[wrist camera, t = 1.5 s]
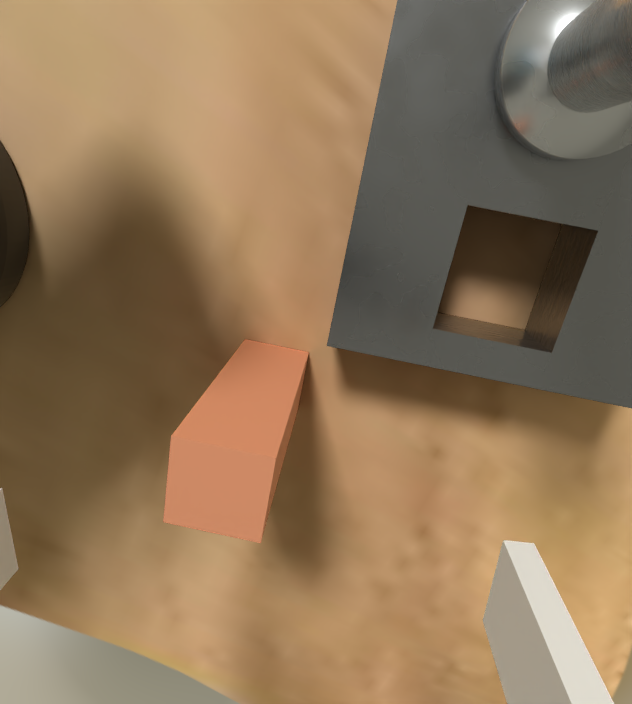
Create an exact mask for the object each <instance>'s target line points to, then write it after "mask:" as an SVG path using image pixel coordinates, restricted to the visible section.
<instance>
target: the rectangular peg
mask: <svg viewBox="0 0 632 704" xmlns="http://www.w3.org/2000/svg"><path fill="white" fill-rule="evenodd" d="M308 354H309V352H306V351H301V350H296V349H291V348H286V347H281V346H276V345H271V344H267V343H262V342H257V341H252V340H247V339H245V340H244V341H243V342H242V344H241V345H240V346H239V348H238V349H237V350H236V352H235V353H234V354H233V356H232V357H231V358H230V359H229V361H228V362H227V363H226V365H225V366H224V367H223V369H222V370H221V371H220V373H219V374H218V375H217V376H216V378H215V379H214V380H213V382H212V383H211V384H210V386H209V387H208V388H207V390H206V391H205V392H204V394H203V395H202V396H201V397H200V399H199V400H198V401H197V403H196V404H195V405H194V407H193V408H192V409H191V411H190V412H189V413H188V415H187V416H186V417H185V418H184V420H183V421H182V422H181V424H180V425H179V426H178V428H177V429H176V430H175V432H174V433H173V434H172V435H171V442H170V453H169V464H168V475H167V486H166V498H165V509H164V520H163V522H165V523H169V524H174V525H179V526H183V527H188V528H193V529H197V530H202V531H207V532H211V533H216V534H221V535H225V536H230V537H235V538H239V539H244V540H249V541H253V542H258V543H261V540H262V537H263V533H264V530H265V526H266V522H267V519H268V515H269V512H270V508H271V504H272V501H273V497H274V494H275V490H276V487H277V483H278V479H279V476H280V472H281V469H282V465H283V461H284V458H285V454H286V451H287V447H288V443H289V440H290V436H291V433H292V429H293V426H294V422H295V418H296V415H297V411H298V407H299V401H300V396H301V391H302V386H303V381H304V375H305V370H306V365H307V360H308Z"/></svg>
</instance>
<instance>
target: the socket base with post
mask: <svg viewBox="0 0 632 704" xmlns="http://www.w3.org/2000/svg"><path fill="white" fill-rule="evenodd" d="M467 206H472V207H477V208H482V209H487V210H492V211H497V212H502V213H507V214H512V215H517V216H522V217H527V218H532V219H538V220H543V221H548V222H553V223H558V224H562V227H561V230H560V233H559V236H558V238H557V241H556V244H555V247H554V250H553V253H552V255H551V258H550V261H549V264H548V267H547V269H546V272H545V275H544V278H543V281H542V284H541V286H540V289H539V292H538V295H537V298H536V301H535V303H534V306H533V309H532V312H531V315H530V318H529V320H528V323H527V326H526V329H525V330H522V329H517V328H512V327H507V326H502V325H497V324H492V323H487V322H482V321H478V320H473V319H468V318H463V317H458V316H453V315H448V314H443V313H438V308H439V305H440V301H441V298H442V294H443V290H444V287H445V283H446V280H447V276H448V273H449V269H450V266H451V262H452V259H453V255H454V252H455V248H456V245H457V241H458V237H459V234H460V230H461V227H462V223H463V220H464V216H465V213H466V209H467ZM327 346H330V347H335V348H340V349H345V350H350V351H355V352H360V353H365V354H369V355H374V356H379V357H384V358H389V359H394V360H399V361H404V362H408V363H413V364H418V365H423V366H428V367H433V368H438V369H443V370H447V371H452V372H457V373H462V374H467V375H472V376H477V377H482V378H487V379H491V380H496V381H501V382H506V383H511V384H516V385H521V386H526V387H530V388H535V389H540V390H545V391H550V392H555V393H560V394H565V395H569V396H574V397H579V398H584V399H589V400H594V401H599V402H604V403H608V404H613V405H618V406H623V407H628V408H632V0H398V1H397V6H396V11H395V15H394V20H393V25H392V30H391V35H390V40H389V45H388V50H387V54H386V59H385V64H384V69H383V74H382V79H381V84H380V89H379V94H378V98H377V103H376V108H375V113H374V118H373V123H372V128H371V133H370V137H369V142H368V147H367V152H366V157H365V162H364V167H363V172H362V177H361V181H360V186H359V191H358V196H357V201H356V206H355V211H354V216H353V221H352V225H351V230H350V235H349V240H348V245H347V250H346V255H345V260H344V264H343V269H342V274H341V279H340V284H339V289H338V294H337V299H336V304H335V308H334V313H333V318H332V323H331V328H330V333H329V338H328V343H327Z"/></svg>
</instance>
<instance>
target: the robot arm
mask: <svg viewBox="0 0 632 704" xmlns="http://www.w3.org/2000/svg"><path fill="white" fill-rule="evenodd" d="M28 245H29V222H28V213H27V207H26V202H25V198H24V194H23V190H22V187H21V184H20V181H19V178H18V176H17V173H16V171H15V168H14V166H13V164H12V162H11V160H10V158H9V156H8V154H7V152H6V151H5V149H4V147H3V146H2V144H1V142H0V307H1V306H2V305H3V304H4V303H5V302H6V300H7V299H8V298H9V297H10V295H11V294H12V293H13V291H14V290H15V288H16V286H17V284H18V282H19V280H20V278H21V275H22V273H23V270H24V267H25V263H26V259H27V253H28ZM18 569H19V568H18V563H17V558H16V553H15V548H14V543H13V538H12V533H11V529H10V524H9V519H8V514H7V509H6V504H5V499H4V494H3V489H2V488H0V590H1V589H2V588H3V586H4V585H5V584H6V583H7V582H8V581H9V580H10V578H11V577H12V576H13V575H14V574H15V573H16V571H17V570H18ZM483 623H484V626H485V630H486V633H487V637H488V640H489V643H490V647H491V650H492V654H493V657H494V660H495V664H496V667H497V671H498V674H499V677H500V681H501V684H502V687H503V691H504V694H505V698H506V701H507V704H614V702H613V700H612V698H611V696H610V694H609V692H608V690H607V688H606V686H605V684H604V682H603V680H602V678H601V676H600V674H599V672H598V670H597V668H596V666H595V664H594V662H593V660H592V658H591V656H590V654H589V652H588V650H587V648H586V646H585V644H584V642H583V640H582V638H581V636H580V634H579V632H578V630H577V628H576V626H575V624H574V622H573V620H572V618H571V616H570V614H569V612H568V610H567V608H566V606H565V604H564V602H563V600H562V598H561V596H560V594H559V592H558V590H557V588H556V586H555V584H554V582H553V580H552V578H551V576H550V574H549V572H548V570H547V568H546V566H545V564H544V562H543V560H542V558H541V556H540V554H539V552H538V550H537V548H536V546H535V544H534V543H526V542H517V541H507V540H503V543H502V547H501V551H500V555H499V559H498V563H497V567H496V570H495V574H494V578H493V582H492V586H491V590H490V594H489V598H488V602H487V606H486V610H485V614H484V618H483Z"/></svg>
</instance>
